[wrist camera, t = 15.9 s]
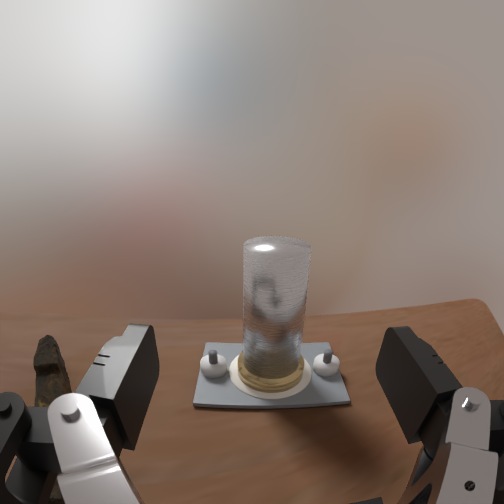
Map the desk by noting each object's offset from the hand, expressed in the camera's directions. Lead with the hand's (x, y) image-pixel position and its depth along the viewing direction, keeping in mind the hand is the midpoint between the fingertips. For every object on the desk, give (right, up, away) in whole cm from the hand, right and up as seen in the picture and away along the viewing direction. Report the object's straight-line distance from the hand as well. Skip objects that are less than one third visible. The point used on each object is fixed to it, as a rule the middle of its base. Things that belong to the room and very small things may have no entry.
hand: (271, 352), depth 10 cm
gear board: (+1, -8, +17) cm, 19 cm away
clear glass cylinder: (+1, -8, +17) cm, 18 cm away
